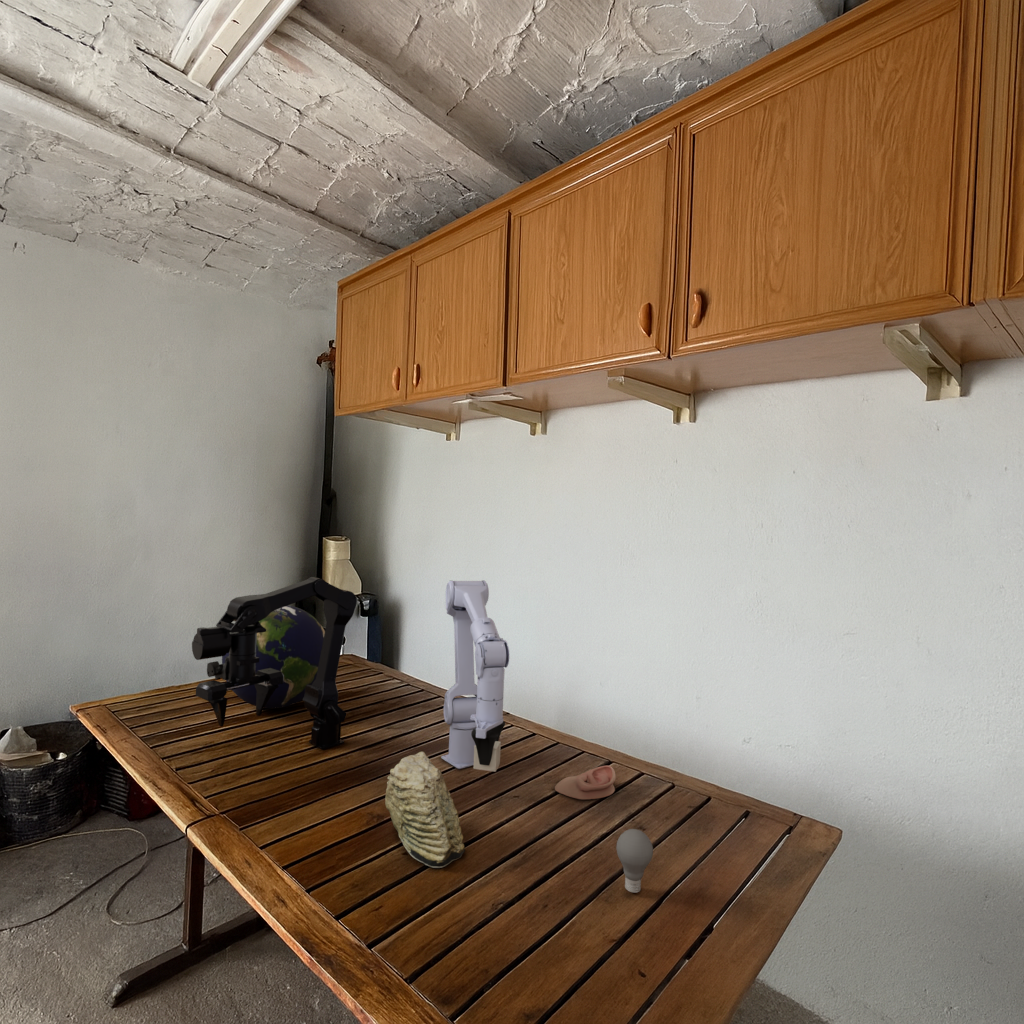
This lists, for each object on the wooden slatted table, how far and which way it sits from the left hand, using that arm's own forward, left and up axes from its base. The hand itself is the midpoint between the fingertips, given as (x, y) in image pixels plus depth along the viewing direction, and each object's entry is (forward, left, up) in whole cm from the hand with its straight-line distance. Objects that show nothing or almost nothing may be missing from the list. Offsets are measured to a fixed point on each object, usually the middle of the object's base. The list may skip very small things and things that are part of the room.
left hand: (240, 720), depth 145 cm
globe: (-27, -34, -11) cm, 45 cm away
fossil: (-10, +53, -11) cm, 55 cm away
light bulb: (-26, +89, -11) cm, 93 cm away
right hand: (-31, +49, -3) cm, 58 cm away
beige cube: (-31, +49, -4) cm, 58 cm away
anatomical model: (-51, +61, -11) cm, 80 cm away
